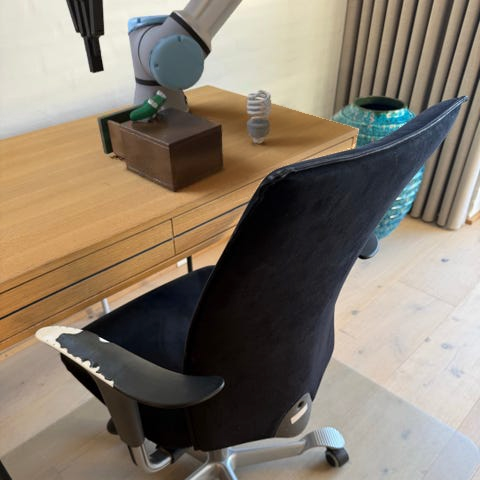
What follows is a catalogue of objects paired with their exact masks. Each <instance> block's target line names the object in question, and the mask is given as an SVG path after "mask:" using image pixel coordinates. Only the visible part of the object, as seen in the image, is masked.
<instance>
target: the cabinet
mask: <svg viewBox="0 0 480 480" xmlns="http://www.w3.org/2000/svg"><path fill="white" fill-rule="evenodd" d="M155 114H156V116H155V117H154V118H153V117H151V118H149V117H148V118H146V119H143V120H139V121H128V122H124V123H121V124H119V127H120V133H121V138H122V144H123V150H124V155H125V159H124V160H125V166H126V170H127V171H129V172H132V173H133V174H136V175H137V176H140V177H142V178H144V179H146V180H148V181H150V182H152V183H154V184H156V185H158V186H161V187H163V188H164V189H166V190H168V191H171V192H172V193H175V192H177V191H180V190H182V189H183V188H186V187H188V186H190V185H192V184H194V183H197V182H199V181H202V180H203V179H207V178H208V177H210V176H213V175H214V174H216V173H219V172H221V171H224V153H223V152H224V150H223V148H224V147H223V124H222V123H219V122H217V121H213V120H211V119H208V118H205V117H202V116H199V115H196V114H193V113H191V112H189V113H188V112H185V111H182V110H179V109H176V108H173V107H171V108H167V109H164V110H161V111H160V112H159V113H158V114H157V112H156V113H155ZM155 114H154V115H155ZM152 118H153V119H152Z"/></svg>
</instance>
